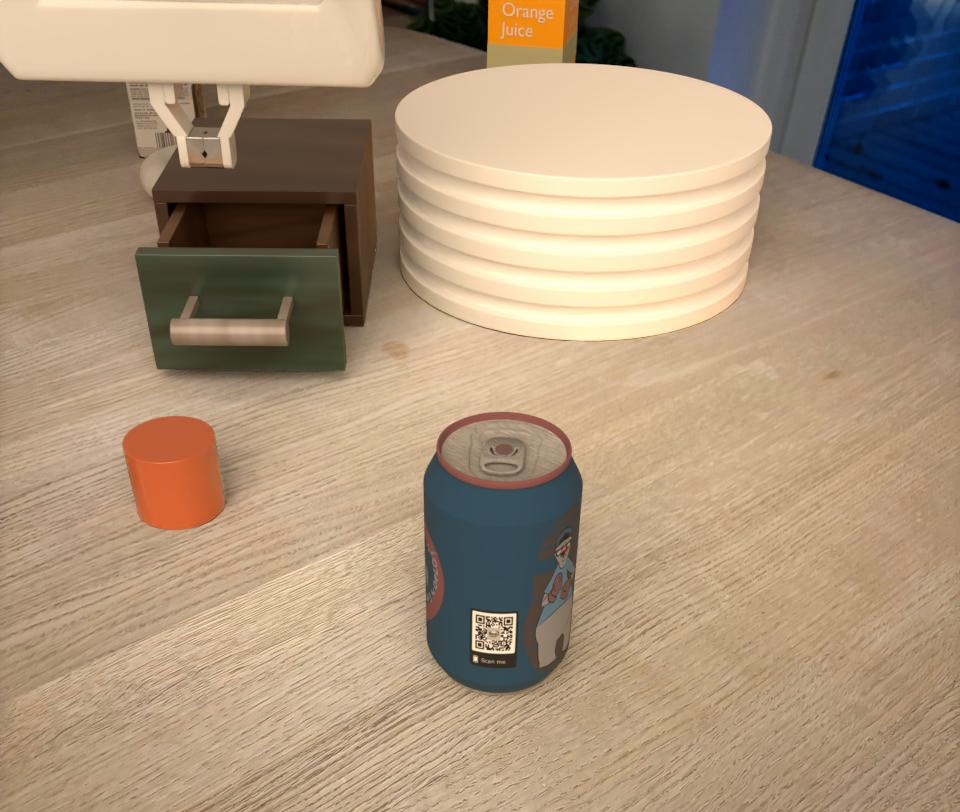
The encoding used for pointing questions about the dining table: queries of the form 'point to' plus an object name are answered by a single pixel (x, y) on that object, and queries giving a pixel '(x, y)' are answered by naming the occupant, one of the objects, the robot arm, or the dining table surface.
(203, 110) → the coffee box
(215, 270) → the drawer
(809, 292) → the dining table surface
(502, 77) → the plate stack
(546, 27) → the orange juice
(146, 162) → the donut
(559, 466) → the soda can
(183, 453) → the orange cylinder block
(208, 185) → the cabinet
